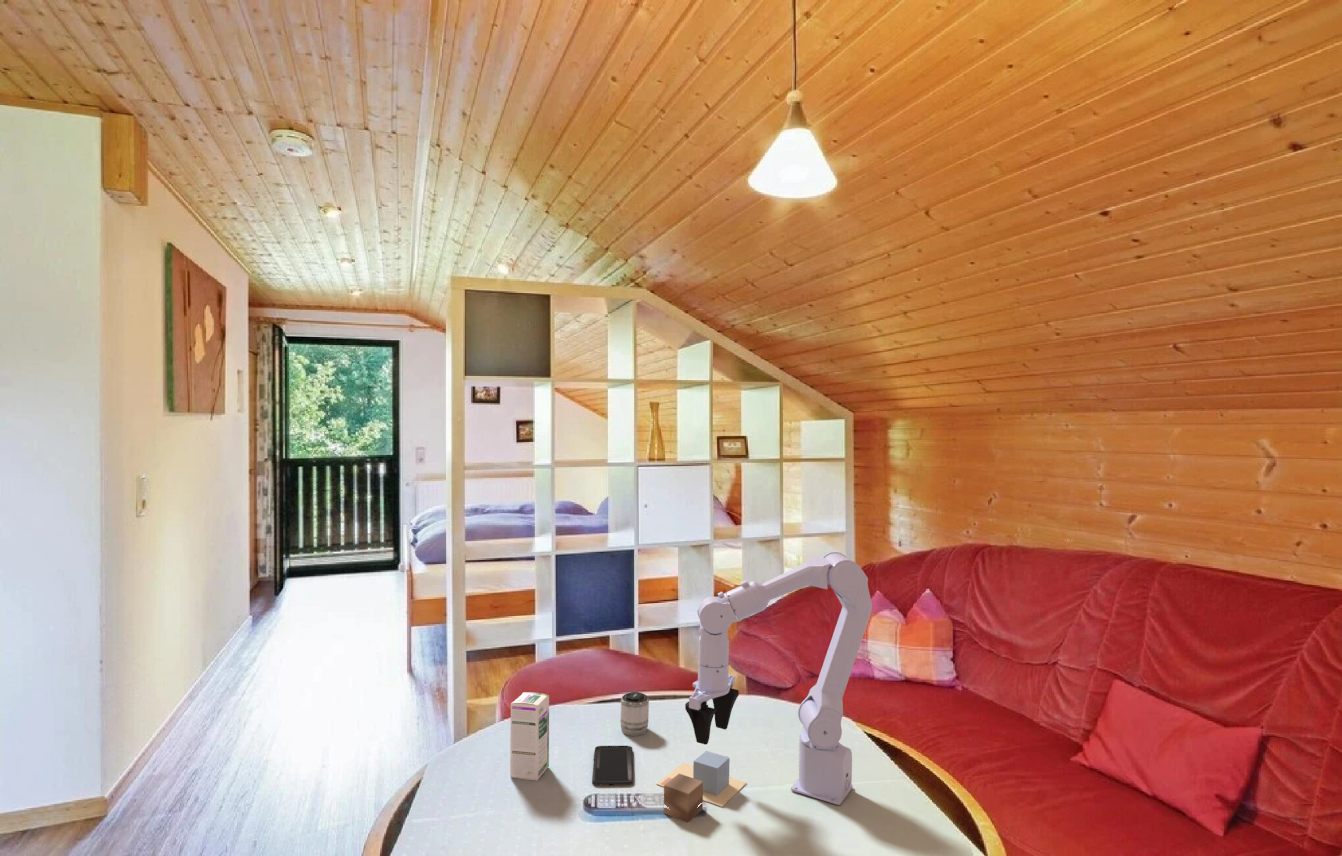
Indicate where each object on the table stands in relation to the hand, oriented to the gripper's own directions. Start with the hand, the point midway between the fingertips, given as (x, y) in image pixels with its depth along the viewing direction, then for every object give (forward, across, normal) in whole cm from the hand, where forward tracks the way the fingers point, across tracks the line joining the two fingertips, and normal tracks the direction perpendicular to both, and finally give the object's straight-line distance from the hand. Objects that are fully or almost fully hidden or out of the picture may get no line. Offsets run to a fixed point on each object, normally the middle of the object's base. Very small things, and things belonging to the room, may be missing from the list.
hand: (712, 735), depth 129 cm
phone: (+10, +4, -20) cm, 23 cm away
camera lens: (+10, -12, -26) cm, 30 cm away
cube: (+10, 0, 0) cm, 10 cm away
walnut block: (+10, +10, 0) cm, 14 cm away
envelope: (+10, 0, -2) cm, 10 cm away
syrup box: (+10, +15, -32) cm, 37 cm away
